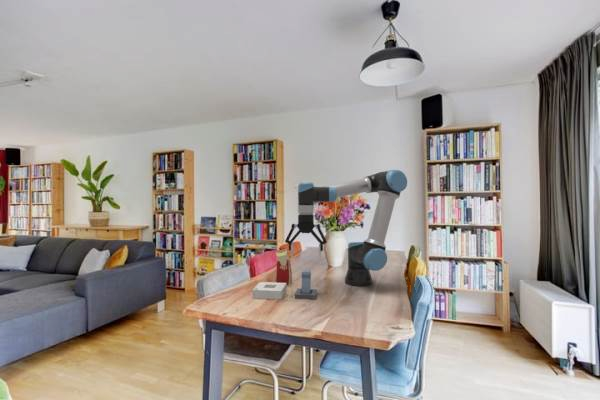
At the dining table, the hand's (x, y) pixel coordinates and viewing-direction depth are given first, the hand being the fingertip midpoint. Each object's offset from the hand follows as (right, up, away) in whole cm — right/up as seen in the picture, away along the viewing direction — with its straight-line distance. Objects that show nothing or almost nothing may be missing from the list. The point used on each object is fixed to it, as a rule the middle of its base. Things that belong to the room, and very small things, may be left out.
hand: (305, 257), depth 144 cm
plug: (0, -19, 0) cm, 19 cm away
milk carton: (-12, -19, +20) cm, 30 cm away
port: (-18, -19, +2) cm, 26 cm away
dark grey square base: (0, -19, 0) cm, 19 cm away
